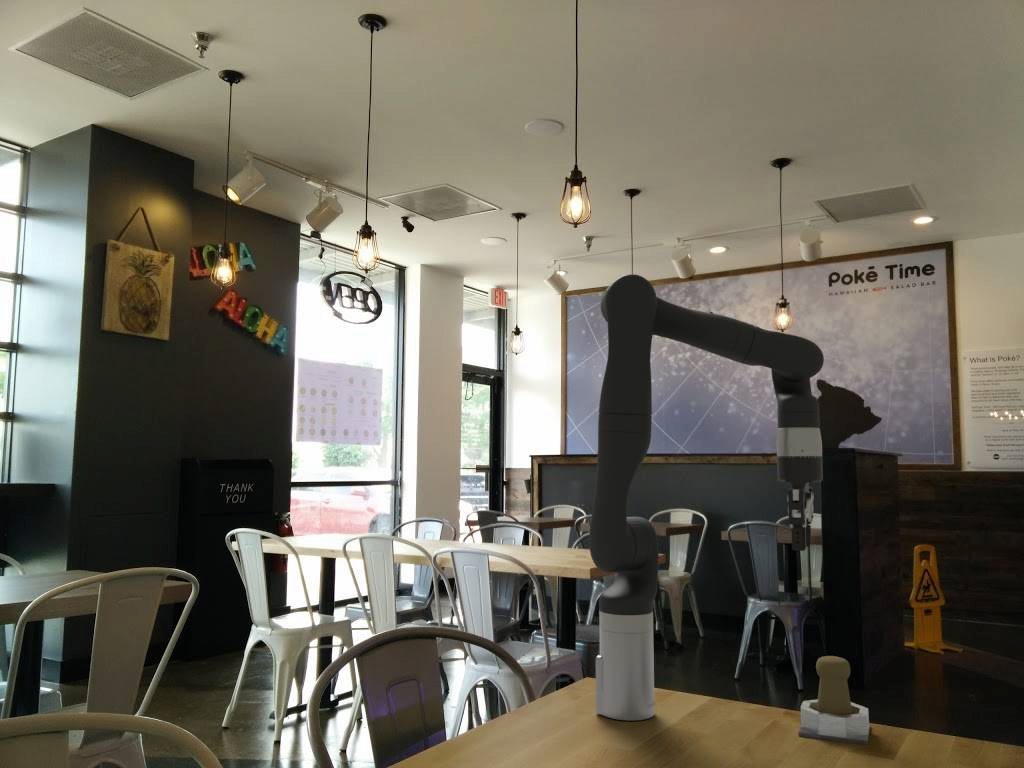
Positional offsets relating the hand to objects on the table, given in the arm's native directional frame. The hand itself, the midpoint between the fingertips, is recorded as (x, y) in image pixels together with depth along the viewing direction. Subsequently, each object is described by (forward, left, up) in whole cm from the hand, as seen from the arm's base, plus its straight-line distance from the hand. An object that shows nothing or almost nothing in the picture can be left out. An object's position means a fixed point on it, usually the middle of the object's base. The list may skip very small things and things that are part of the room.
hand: (801, 548), depth 147 cm
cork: (+5, -7, -28) cm, 29 cm away
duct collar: (+5, -7, -28) cm, 29 cm away
